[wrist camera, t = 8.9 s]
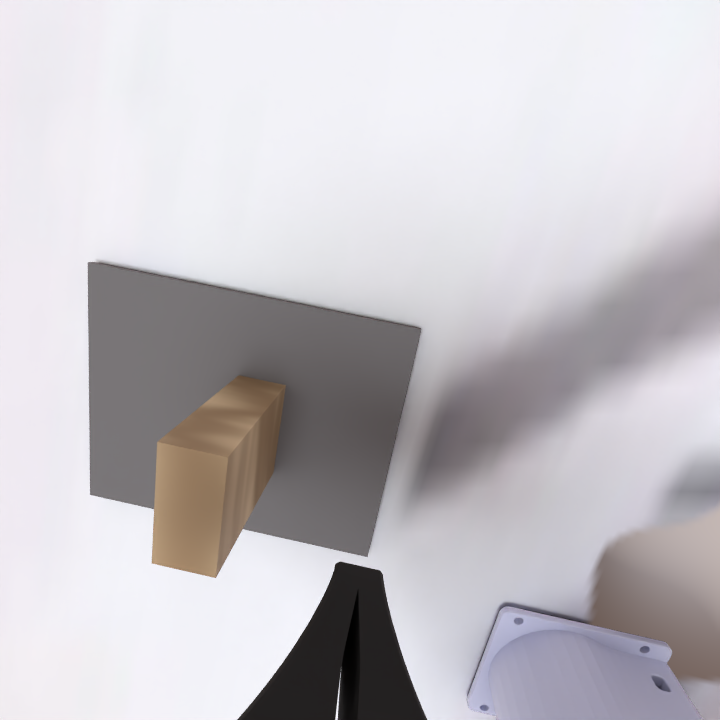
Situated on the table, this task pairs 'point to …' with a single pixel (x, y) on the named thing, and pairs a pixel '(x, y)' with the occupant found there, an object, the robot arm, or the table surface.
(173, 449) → the block
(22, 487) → the table surface
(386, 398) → the mat
